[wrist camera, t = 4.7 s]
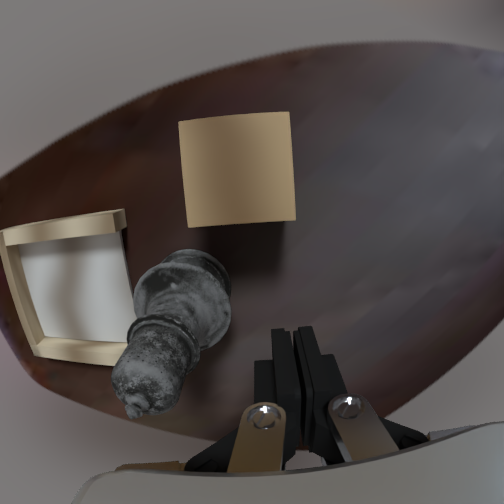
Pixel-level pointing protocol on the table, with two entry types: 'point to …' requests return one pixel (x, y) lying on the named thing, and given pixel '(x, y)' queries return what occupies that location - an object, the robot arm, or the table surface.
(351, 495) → the robot arm
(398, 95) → the table surface
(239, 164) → the oak block
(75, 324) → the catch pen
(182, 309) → the grey chess piece
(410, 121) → the table surface
